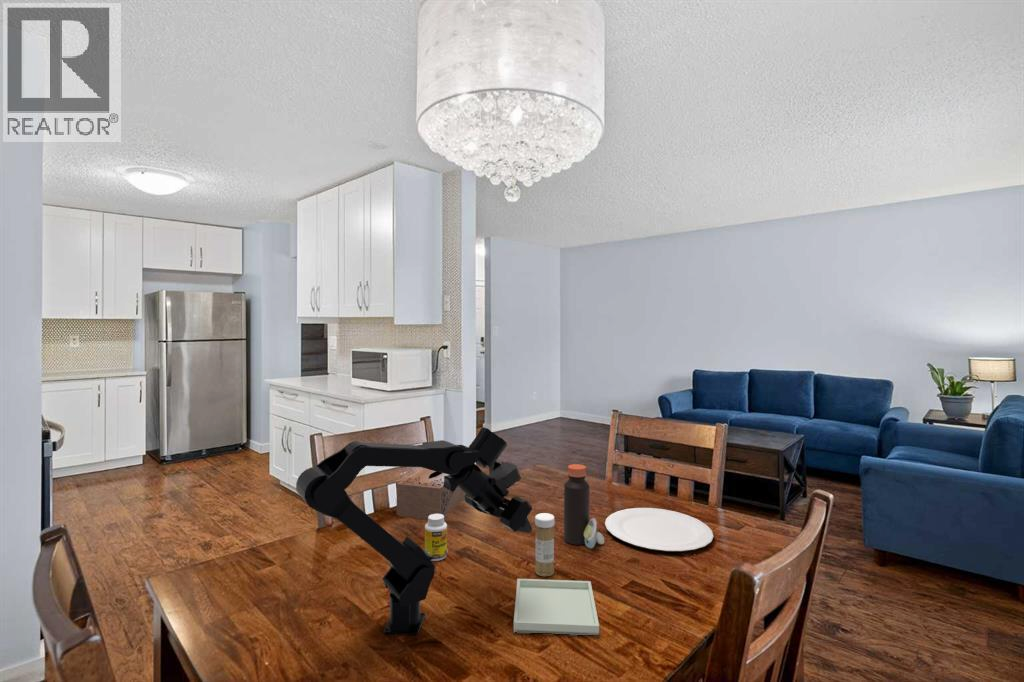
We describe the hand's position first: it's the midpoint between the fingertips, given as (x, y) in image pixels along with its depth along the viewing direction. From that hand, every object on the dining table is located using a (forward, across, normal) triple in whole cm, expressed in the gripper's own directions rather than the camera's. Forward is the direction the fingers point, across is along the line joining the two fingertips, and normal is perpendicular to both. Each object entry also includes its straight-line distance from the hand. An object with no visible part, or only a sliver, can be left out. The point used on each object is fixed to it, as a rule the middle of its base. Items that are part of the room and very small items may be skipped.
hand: (518, 523), depth 110 cm
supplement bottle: (+3, +22, +16) cm, 27 cm away
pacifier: (+24, +4, -12) cm, 27 cm away
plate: (+44, -1, -24) cm, 50 cm away
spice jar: (+15, 0, +4) cm, 16 cm away
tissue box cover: (+15, +55, +4) cm, 57 cm away
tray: (+9, -13, +10) cm, 19 cm away
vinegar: (+28, +8, -9) cm, 31 cm away
